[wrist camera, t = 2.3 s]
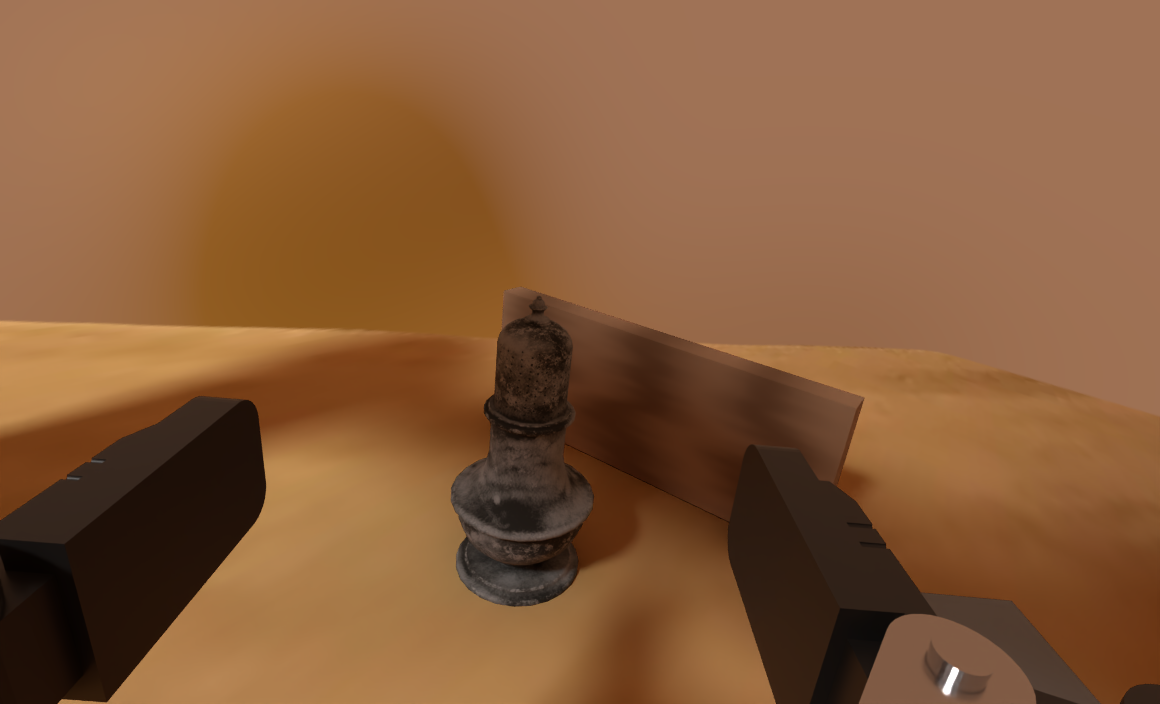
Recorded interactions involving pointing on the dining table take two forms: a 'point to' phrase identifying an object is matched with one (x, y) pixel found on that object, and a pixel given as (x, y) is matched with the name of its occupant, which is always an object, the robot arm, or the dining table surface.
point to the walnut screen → (687, 406)
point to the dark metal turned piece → (524, 474)
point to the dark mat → (1014, 642)
